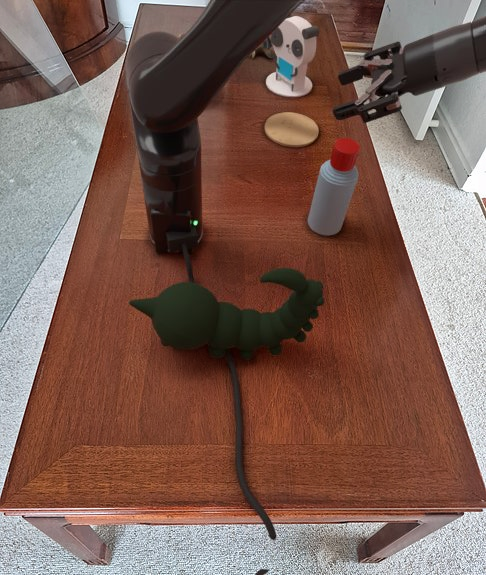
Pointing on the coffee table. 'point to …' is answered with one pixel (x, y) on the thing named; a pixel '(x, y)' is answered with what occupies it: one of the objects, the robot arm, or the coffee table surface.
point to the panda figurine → (292, 57)
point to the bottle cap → (344, 154)
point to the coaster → (291, 129)
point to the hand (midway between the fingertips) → (337, 96)
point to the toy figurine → (232, 316)
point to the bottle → (331, 199)
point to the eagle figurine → (265, 48)
